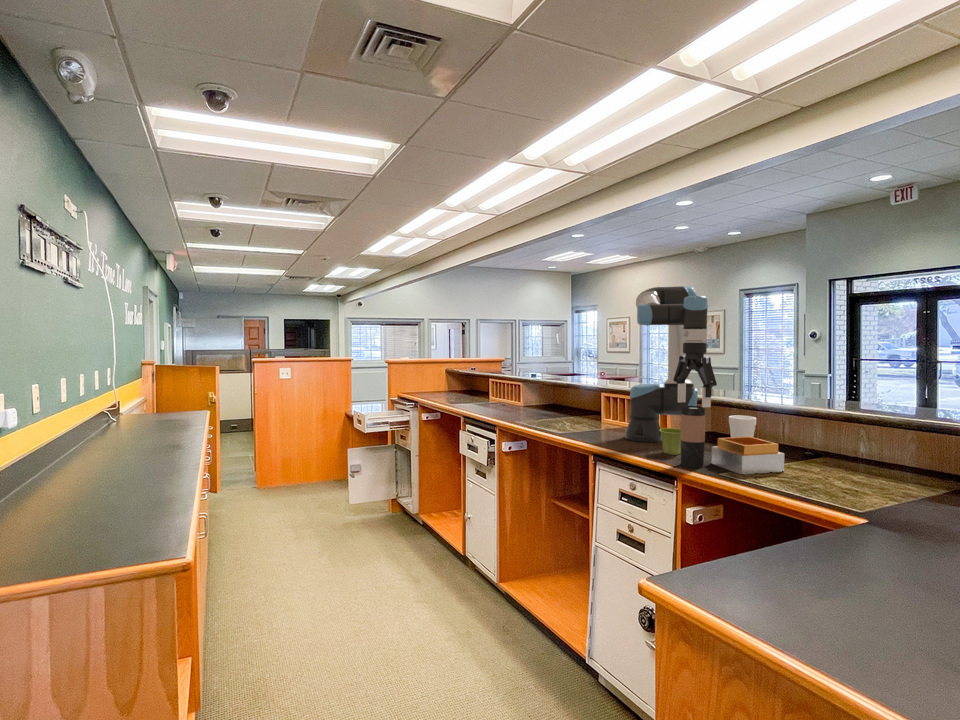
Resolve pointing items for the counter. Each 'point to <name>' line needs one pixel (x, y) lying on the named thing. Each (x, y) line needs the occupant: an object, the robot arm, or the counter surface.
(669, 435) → the plant pot
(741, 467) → the grey and brown box
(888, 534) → the counter surface
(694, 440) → the travel mug
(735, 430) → the foam cup
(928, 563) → the counter surface
